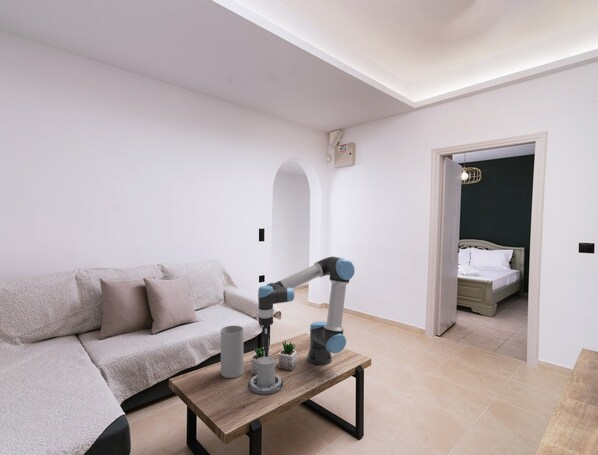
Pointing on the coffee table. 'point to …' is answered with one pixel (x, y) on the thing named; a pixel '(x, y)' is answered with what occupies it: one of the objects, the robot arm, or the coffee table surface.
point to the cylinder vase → (231, 351)
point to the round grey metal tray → (265, 390)
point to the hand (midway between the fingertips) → (266, 356)
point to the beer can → (265, 372)
